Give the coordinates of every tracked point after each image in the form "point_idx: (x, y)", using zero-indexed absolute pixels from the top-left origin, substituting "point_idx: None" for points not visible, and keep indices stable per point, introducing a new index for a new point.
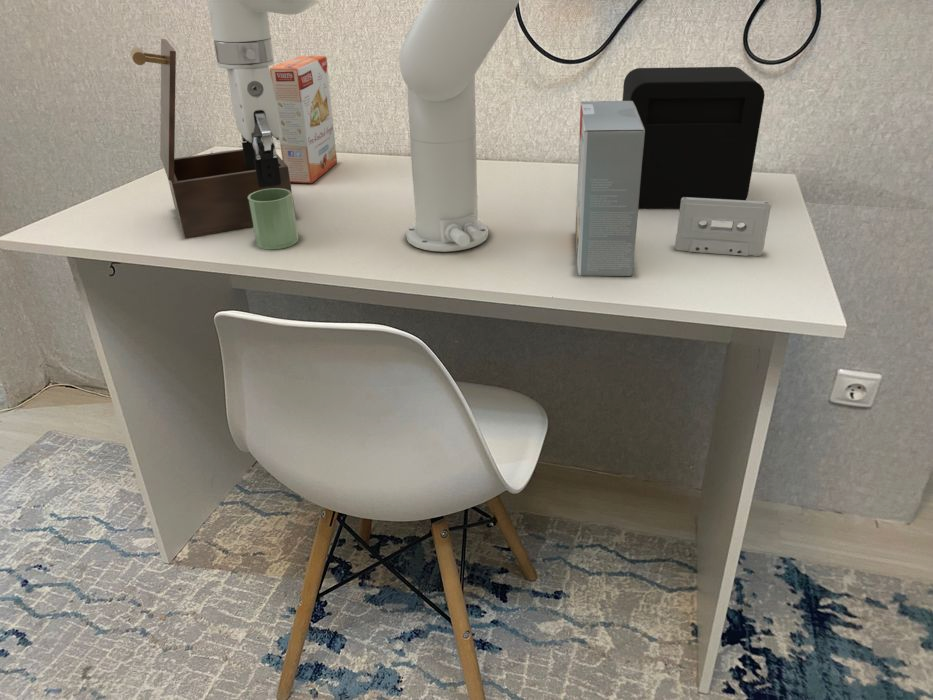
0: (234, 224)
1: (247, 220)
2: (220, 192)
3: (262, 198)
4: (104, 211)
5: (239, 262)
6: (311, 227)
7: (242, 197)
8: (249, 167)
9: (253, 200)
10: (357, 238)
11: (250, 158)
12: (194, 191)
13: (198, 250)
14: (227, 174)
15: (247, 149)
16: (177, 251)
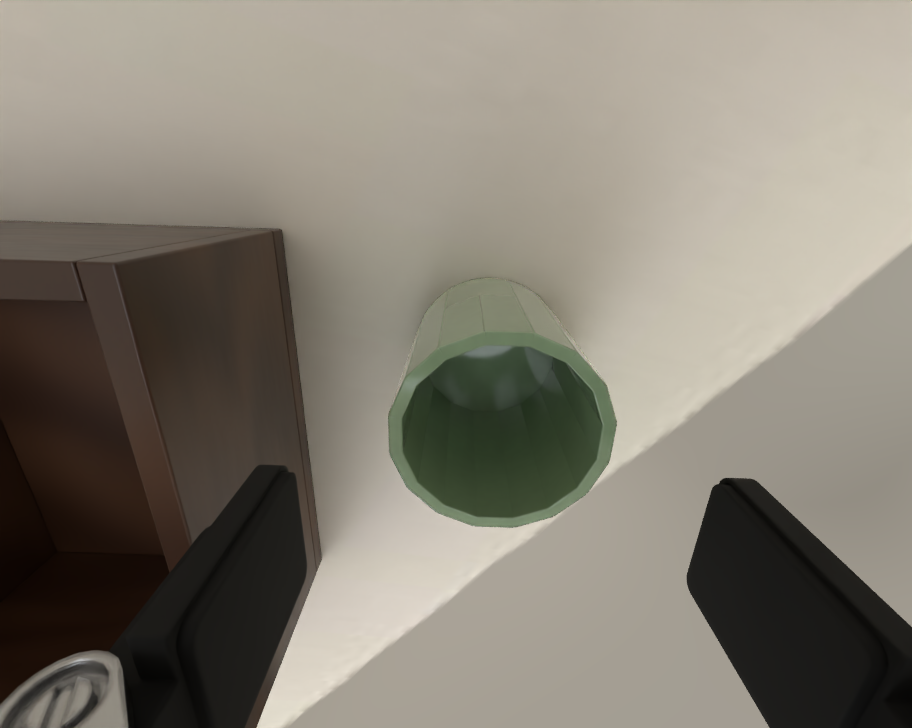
0: (300, 448)
1: (294, 412)
2: None
3: (411, 436)
4: None
5: None
6: (403, 196)
7: (255, 466)
8: (305, 569)
9: (540, 515)
10: (639, 41)
11: (278, 609)
12: None
13: (432, 544)
14: None
15: (248, 694)
16: (411, 583)
